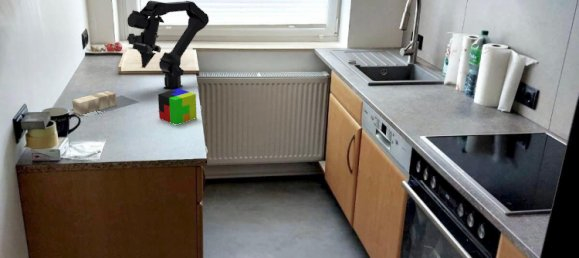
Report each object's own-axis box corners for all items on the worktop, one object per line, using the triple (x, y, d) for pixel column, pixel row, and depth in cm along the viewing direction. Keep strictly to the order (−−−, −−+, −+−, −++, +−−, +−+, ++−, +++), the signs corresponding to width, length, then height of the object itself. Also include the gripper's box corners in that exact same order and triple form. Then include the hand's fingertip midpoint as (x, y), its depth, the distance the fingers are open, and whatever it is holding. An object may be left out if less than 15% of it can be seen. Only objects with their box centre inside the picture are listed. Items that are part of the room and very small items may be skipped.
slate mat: (121, 96, 227) (121, 95, 227) (139, 103, 220) (139, 101, 220) (70, 110, 209) (70, 109, 209) (88, 118, 202) (87, 117, 202)
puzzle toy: (179, 112, 212) (178, 88, 208) (196, 118, 206) (195, 94, 203) (159, 118, 205) (157, 94, 201) (176, 125, 199) (175, 100, 195)
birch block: (108, 90, 216) (72, 100, 205) (115, 93, 214) (79, 103, 202) (109, 102, 218) (73, 112, 206) (116, 105, 215) (81, 115, 204)
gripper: (139, 28, 233) (133, 63, 235) (123, 25, 214) (116, 63, 216) (164, 34, 232) (157, 69, 235) (150, 31, 214) (143, 69, 216)
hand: (143, 67), depth 225 cm, fingers closed
